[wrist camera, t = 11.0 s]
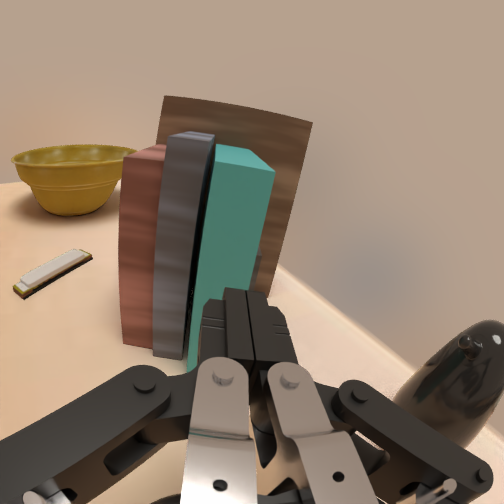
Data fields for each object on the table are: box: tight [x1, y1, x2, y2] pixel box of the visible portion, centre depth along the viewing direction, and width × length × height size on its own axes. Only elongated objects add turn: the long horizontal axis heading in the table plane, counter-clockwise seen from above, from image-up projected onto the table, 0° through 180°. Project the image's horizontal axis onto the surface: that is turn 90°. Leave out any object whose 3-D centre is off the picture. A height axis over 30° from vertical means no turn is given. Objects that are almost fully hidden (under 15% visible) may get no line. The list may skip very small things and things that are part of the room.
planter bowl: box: [11, 145, 138, 216], centre depth 55 cm, size 32×32×13 cm
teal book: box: [187, 144, 276, 373], centre depth 29 cm, size 16×4×20 cm, turn 7°
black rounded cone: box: [392, 320, 504, 449], centre depth 18 cm, size 10×10×15 cm
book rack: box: [118, 96, 313, 360], centre depth 29 cm, size 15×18×25 cm
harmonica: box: [13, 249, 93, 299], centre depth 34 cm, size 15×3×2 cm, turn 164°
